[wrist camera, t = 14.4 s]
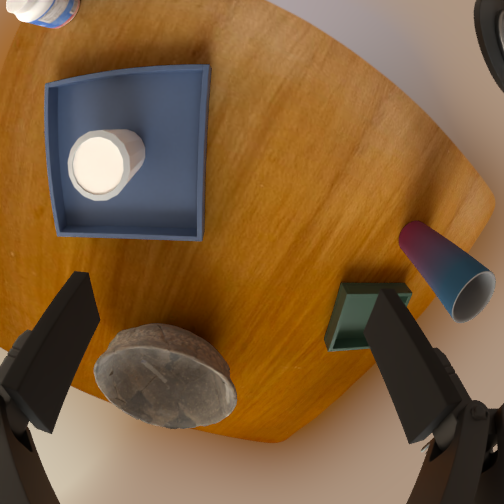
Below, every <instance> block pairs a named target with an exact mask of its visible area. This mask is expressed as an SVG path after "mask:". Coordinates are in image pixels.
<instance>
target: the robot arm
mask: <svg viewBox="0 0 504 504" xmlns="http://www.w3.org/2000/svg"><path fill="white" fill-rule="evenodd" d="M495 34H496V39H497V43H498V47H499V50H500V53H501V55H502V58H503V60H504V10H500V11H499V12H498V13H497V15H496V17H495ZM99 322H100V317H99V313H98V310H97V306H96V302H95V298H94V294H93V290H92V286H91V282H90V277H89V273H87V272H77V271H74V273H73V274H72V275H71V277H70V278H69V279H68V280H67V282H66V283H65V284H64V286H63V287H62V288H61V290H60V291H59V293H58V294H57V295H56V297H55V298H54V299H53V301H52V302H51V304H50V305H49V307H48V308H47V309H46V311H45V312H44V314H43V315H42V317H41V318H40V320H39V321H38V323H37V324H36V326H35V327H34V329H33V330H32V331H30V330H26V331H25V332H24V333H23V334H21V335H20V336H19V337H18V338H17V340H16V341H15V343H14V344H13V346H12V348H11V349H10V351H9V352H8V356H6V358H5V359H4V361H3V363H2V364H1V366H0V504H60V503H59V501H58V499H57V497H56V495H55V492H54V490H53V488H52V486H51V484H50V482H49V480H48V477H47V475H46V473H45V470H44V468H43V466H42V463H41V460H40V458H39V456H38V453H37V450H36V447H35V444H34V442H33V438H32V435H31V432H30V430H29V428H28V427H27V425H28V422H29V421H30V422H31V423H32V424H33V425H34V426H35V427H36V428H37V429H40V430H42V431H45V432H48V433H50V434H52V432H53V429H54V427H55V424H56V421H57V418H58V415H59V413H60V410H61V408H62V405H63V402H64V400H65V397H66V395H67V392H68V390H69V387H70V385H71V383H72V380H73V378H74V376H75V373H76V371H77V369H78V366H79V364H80V362H81V360H82V357H83V355H84V353H85V351H86V349H87V346H88V344H89V342H90V340H91V338H92V336H93V334H94V332H95V330H96V328H97V326H98V324H99ZM363 334H364V336H365V338H366V340H367V343H368V345H369V347H370V349H371V351H372V354H373V356H374V358H375V360H376V363H377V365H378V367H379V369H380V372H381V374H382V377H383V379H384V381H385V384H386V386H387V389H388V391H389V394H390V396H391V398H392V401H393V403H394V406H395V408H396V411H397V413H398V416H399V419H400V421H401V424H402V426H403V429H404V432H405V434H406V437H407V440H408V443H409V444H412V443H415V442H418V441H422V440H424V439H425V438H426V437H427V436H429V435H430V434H431V433H433V435H434V438H433V439H432V440H431V441H430V442H428V443H427V444H426V445H425V446H424V447H423V448H422V450H421V452H423V451H425V450H426V449H427V448H428V447H429V448H428V451H427V452H426V457H425V460H424V462H423V465H422V468H421V470H420V473H419V476H418V478H417V481H416V483H415V485H414V488H413V490H412V493H411V495H410V497H409V499H408V501H407V503H406V504H504V403H503V405H502V406H501V407H500V408H499V409H488V408H487V407H486V406H485V405H484V404H483V403H482V402H480V401H477V400H473V401H472V400H471V398H470V397H469V395H468V393H467V391H466V389H465V388H464V386H463V384H462V382H461V381H460V379H459V377H458V375H457V374H455V370H454V369H453V367H452V366H451V364H450V362H449V360H448V359H447V357H446V355H445V354H444V353H442V352H441V351H440V350H439V349H438V348H432V346H431V344H430V343H429V341H428V340H427V338H426V336H425V335H424V333H423V332H422V330H421V328H420V327H419V325H418V324H417V322H416V321H415V319H414V318H413V316H412V315H411V313H410V312H409V310H408V309H407V307H406V306H405V304H404V303H403V301H402V300H401V298H400V297H399V295H398V294H397V292H396V291H395V290H394V289H380V291H379V294H378V297H377V299H376V302H375V304H374V307H373V309H372V312H371V314H370V317H369V319H368V322H367V324H366V327H365V329H364V331H363ZM496 444H497V446H498V450H497V451H495V452H493V447H494V446H495V445H496Z"/></svg>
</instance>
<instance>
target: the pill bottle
mask: <svg viewBox="0 0 504 504" xmlns="http://www.w3.org/2000/svg"><path fill="white" fill-rule="evenodd" d="M79 5H80V0H7V3H6V9H7V11H8V12H10V13H14V14H16V17H17V18H18V19H19V20H20V21H23V22H27V23H32V24H36V25H40V26H44V27H48V28H54V29H55V28H60V27H62V26H64V25H66V24H67V23H68V22H70V21H71V20H72V19H73V17H74V16H75V15H76V13H77V11H78V9H79Z"/></svg>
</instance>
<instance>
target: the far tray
mask: <svg viewBox="0 0 504 504" xmlns="http://www.w3.org/2000/svg"><path fill="white" fill-rule="evenodd" d="M380 289H394V290H395V291H396V292H397V294H398V295H399V297H400V298H401V300H402V301H403V303H404V304H405V306H406V307H407V305H408V303H409V300H410V298H411V296H412V292H411V290H410V289H409V288H408V286H407V285H406V284H405V283H341V284H340V288H339V292H338V295H337V299H336V302H335V305H334V309H333V312H332V316H331V319H330V322H329V325H328V328H327V332H326V335H325V338H324V341H325V344H326V347H327V350H328V351H344V350H357V349H368V348H370V347H369V345H368V343H367V340H366V338H365V336H364V334H363V331H364V329H365V327H366V324H367V322H368V319H369V317H370V314H371V312H372V309H373V307H374V304H375V302H376V299H377V297H378V294H379V291H380Z"/></svg>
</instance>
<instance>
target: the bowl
mask: <svg viewBox="0 0 504 504" xmlns="http://www.w3.org/2000/svg"><path fill="white" fill-rule="evenodd" d="M229 370H230V368H229V366H228V365H227V363H226V361H225V360H224V359H223V357H222V356H221V355H220V353H219V352H218V351H217V350H216V349H215V348H214V347H213V346H212V345H211V344H210V343H209V342H207V341H206V340H204V339H203V338H201V337H199V336H197V335H195V334H194V333H192V332H190V331H188V330H185V329H182V328H180V327H177V326H173V325H168V324H160V323H152V324H146V325H142V326H139V327H135V328H130V329H127V330H122V331H120V332H119V333H117V335H116V337H115V338H114V339H113V340H112V341H111V343H109V347H108V349H107V351H105V352H104V353H103V354H102V355H101V356H100V357H99V359H98V360H97V362H96V363H95V366H94V375H95V379H96V382H97V384H98V387H99V388H100V390H101V391H102V392H103V394H104V395H105V396H106V398H107V399H108V400H109V401H110V402H111V403H112V404H114V405H115V406H116V407H118V408H119V409H121V410H122V411H123V412H125V413H126V414H128V415H130V416H132V417H134V418H136V419H140V420H141V421H143V422H146V423H148V424H152V425H156V426H161V427H166V428H170V429H177V428H182V429H184V428H194V427H196V426H200V425H202V426H207V425H210V424H215V423H217V422H219V421H221V420H222V419H224V418H225V417H227V416H228V415H230V413H231V412H232V411H233V410H234V408H235V406H236V403H237V393H236V389H235V386H234V384H233V383H232V381H231V379H230V372H229Z"/></svg>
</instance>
